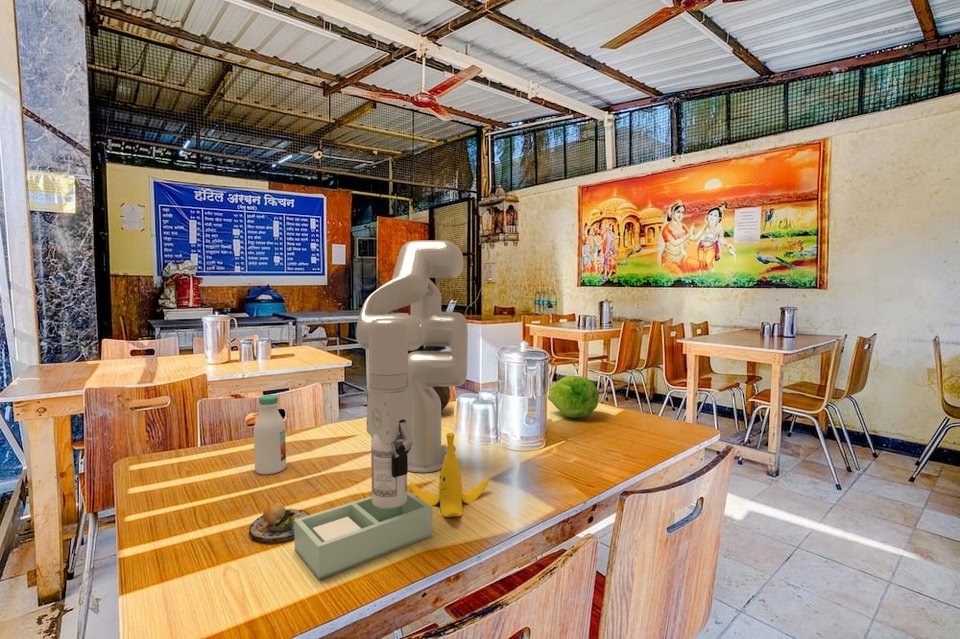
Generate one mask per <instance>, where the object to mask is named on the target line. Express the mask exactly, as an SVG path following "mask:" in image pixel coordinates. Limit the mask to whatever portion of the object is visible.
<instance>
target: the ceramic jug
mask: <svg viewBox="0 0 960 639" xmlns="http://www.w3.org/2000/svg"><path fill="white" fill-rule="evenodd" d="M419 349H420V348H418V349H416V350H413V352H415V351H420V350H419ZM445 350H447V346H423V348H422V350H421V351H445ZM432 388H433V389H434V390H435V392H436V393H437V394H438V396H439V398H440V400H441V416H443V411H444V409H445V408H446V407H447V406H448V404H449V402H450V398H451V389H450V387H448V386H435V387H432Z"/></svg>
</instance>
